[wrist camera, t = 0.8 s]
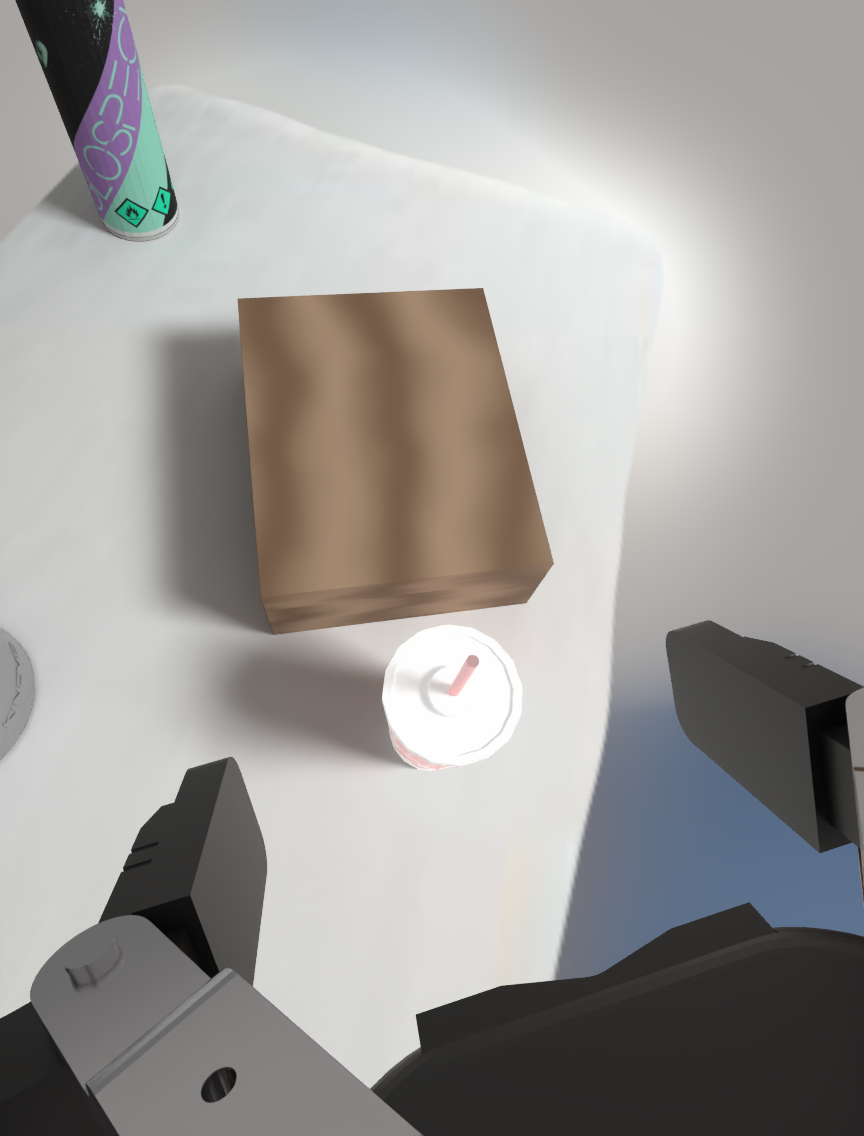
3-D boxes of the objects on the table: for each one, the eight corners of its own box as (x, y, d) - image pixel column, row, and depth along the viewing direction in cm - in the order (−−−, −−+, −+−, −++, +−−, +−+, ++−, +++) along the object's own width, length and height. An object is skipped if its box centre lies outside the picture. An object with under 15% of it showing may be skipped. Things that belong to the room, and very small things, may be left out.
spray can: (94, 238, 48) (-63, -142, 30) (108, 185, 50) (-31, -200, 32) (174, 244, 49) (67, -124, 30) (184, 191, 51) (90, -182, 32)
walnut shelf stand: (273, 634, 38) (260, 597, 33) (251, 366, 45) (237, 298, 40) (526, 603, 40) (553, 563, 35) (467, 353, 48) (483, 288, 42)
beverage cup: (371, 677, 38) (382, 586, 25) (478, 670, 39) (541, 578, 26) (378, 791, 35) (394, 755, 23) (492, 780, 36) (569, 740, 23)
